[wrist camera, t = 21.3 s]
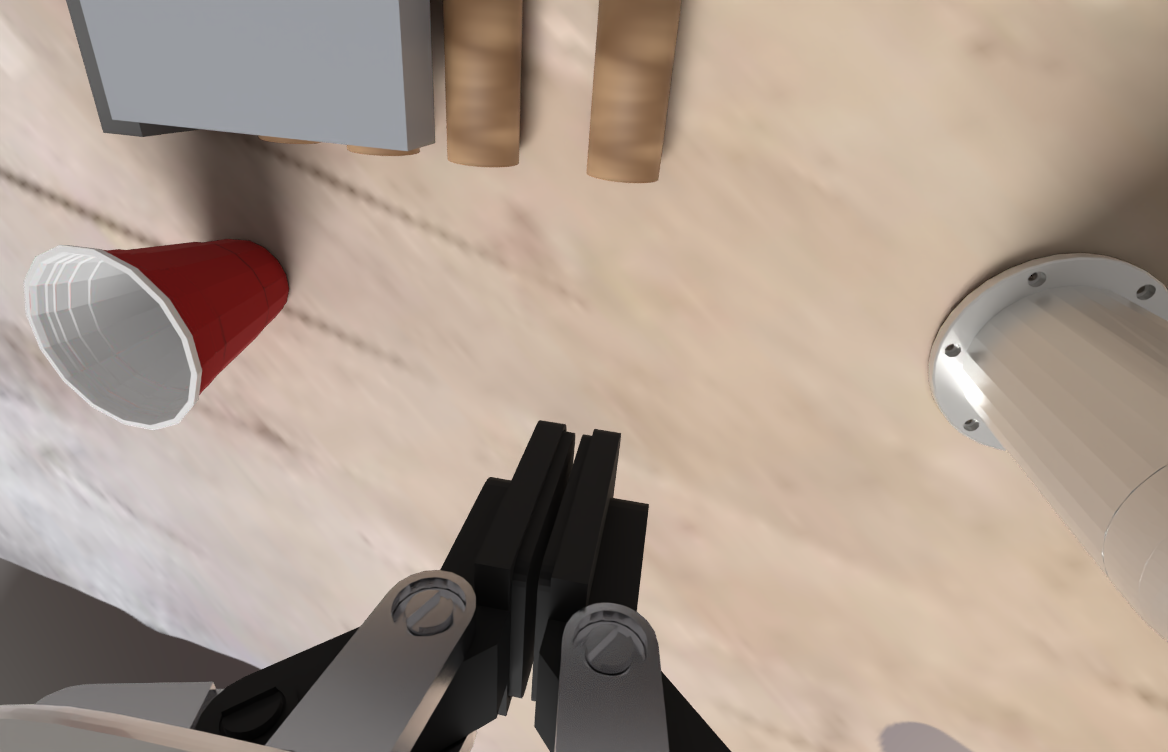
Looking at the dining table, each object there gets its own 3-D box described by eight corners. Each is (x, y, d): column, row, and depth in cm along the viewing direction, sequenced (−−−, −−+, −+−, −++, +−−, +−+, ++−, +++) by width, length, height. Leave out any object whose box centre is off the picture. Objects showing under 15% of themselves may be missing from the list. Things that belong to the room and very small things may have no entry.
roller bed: (693, -82, 29) (692, -102, 26) (660, 173, 35) (656, 185, 31) (346, -103, 31) (302, -123, 28) (368, 142, 37) (333, 150, 33)
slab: (426, -90, 28) (391, -109, 24) (435, 142, 32) (407, 151, 29) (113, -108, 29) (44, -128, 26) (165, 114, 34) (112, 119, 31)
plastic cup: (170, 181, 40) (-16, 222, 30) (321, 224, 40) (187, 281, 30) (185, 324, 46) (31, 402, 35) (319, 364, 45) (205, 454, 35)
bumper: (172, -113, 32) (71, -147, 27) (219, 126, 38) (142, 136, 33) (132, -115, 33) (24, -149, 27) (184, 123, 38) (103, 132, 33)
